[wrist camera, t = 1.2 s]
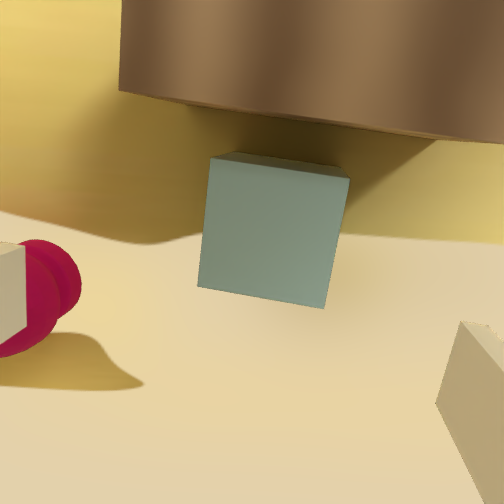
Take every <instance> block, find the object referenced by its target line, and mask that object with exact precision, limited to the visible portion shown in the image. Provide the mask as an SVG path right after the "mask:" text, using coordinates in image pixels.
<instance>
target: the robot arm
mask: <svg viewBox="0 0 504 504" xmlns="http://www.w3.org/2000/svg"><path fill="white" fill-rule="evenodd" d="M26 326H27V317H26V263H25V246H24V245H18V244H12V243H6V242H0V344H1V343H3V342H4V341H6V340H7V339H9V338H10V337H12V336H13V335H15V334H16V333H18V332H19V331H20V330H22V329H23V328H25V327H26ZM435 404H436V406H437V407H438V410H439V412H440V414H441V415H442V418H443V420H444V422H445V424H446V426H447V428H448V430H449V432H450V434H451V436H452V438H453V440H454V442H455V444H456V446H457V448H458V450H459V453H460V454H461V457H462V459H463V461H464V463H465V465H466V467H467V469H468V471H469V473H470V475H471V477H472V479H473V481H474V483H475V485H476V487H477V489H478V491H479V493H480V495H481V497H482V499H483V502H484V504H504V341H503V340H502V339H500V337H499V336H498V335H497V334H496V333H495V332H494V331H493V330H492V329H491V328H490V327H489V326H487V325H481V324H476V323H470V322H464V321H460V325H459V328H458V332H457V335H456V338H455V341H454V344H453V347H452V351H451V354H450V357H449V361H448V364H447V367H446V370H445V374H444V377H443V380H442V384H441V387H440V390H439V393H438V397H437V400H436V403H435Z"/></svg>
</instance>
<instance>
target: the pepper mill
mask: <svg viewBox="0 0 504 504" xmlns="http://www.w3.org/2000/svg"><path fill="white" fill-rule="evenodd" d="M18 245H24V246H25V263H26V317H27V326H26V327H25V328H23V329H22V330H20V331H19V332H18V333H16V334H15V335H13V336H12V337H10V338H9V339H7V340H6V341H4V342H3V343H1V344H0V358H2V357H8V356H11V355H14V354H17V353H19V352H22V351H25V350H27V349H29V348H30V347H32V346H34V345H35V344H37V343H38V342H40V341H42V340H43V339H44V338H45V337H46V336H47V335H48V334H49V333H50V332H51V331H52V329H53V328H54V326H55V324H56V322H57V319H59V318H60V317H62V316H63V315H64V314H66V313H67V312H68V311H70V310H71V309H72V308H73V307H74V306H75V304H76V303H77V302H78V300H79V297H80V294H81V285H82V283H81V277H80V273H79V270H78V267H77V265H76V264H75V262H74V261H73V259H72V258H71V257H70V255H69V254H68V253H67V252H65V251H64V250H63V249H62V248H60V247H59V246H57V245H55V244H53V243H51V242H48V241H44V240H28V241H24V242H22V243H19V244H18Z"/></svg>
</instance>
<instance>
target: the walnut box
mask: <svg viewBox="0 0 504 504" xmlns="http://www.w3.org/2000/svg"><path fill="white" fill-rule="evenodd" d="M119 91H124V92H129V93H134V94H138V95H143V96H148V97H152V98H157V99H162V100H167V101H171V102H176V103H181V104H185V105H192V106H199V107H207V108H214V109H221V110H228V111H235V112H243V113H250V114H257V115H264V116H271V117H278V118H286V119H293V120H300V121H307V122H314V123H322V124H329V125H336V126H343V127H350V128H357V129H365V130H372V131H379V132H386V133H393V134H401V135H408V136H415V137H422V138H429V139H436V140H450V141H464V142H479V143H494V144H504V0H122V13H121V40H120V67H119Z"/></svg>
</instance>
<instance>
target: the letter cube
mask: <svg viewBox="0 0 504 504" xmlns="http://www.w3.org/2000/svg"><path fill="white" fill-rule="evenodd" d="M349 183H350V178H349V177H348V176H347V174H346V173H345V172H344V171H343V170H342V169H341V168H340V167H335V166H328V165H322V164H315V163H308V162H301V161H295V160H288V159H281V158H274V157H268V156H261V155H254V154H247V153H241V152H231V153H227V154H223V155H220V156H216V157H212V158H211V159H210V168H209V178H208V188H207V197H206V207H205V217H204V226H203V236H202V246H201V255H200V265H199V275H198V285H197V286H198V287H203V288H209V289H214V290H220V291H226V292H231V293H236V294H242V295H248V296H253V297H259V298H265V299H270V300H276V301H281V302H287V303H293V304H298V305H304V306H309V307H315V308H321V309H324V306H325V301H326V296H327V291H328V286H329V281H330V276H331V271H332V267H333V262H334V257H335V252H336V247H337V242H338V237H339V232H340V227H341V222H342V218H343V213H344V208H345V203H346V198H347V193H348V188H349Z"/></svg>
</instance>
